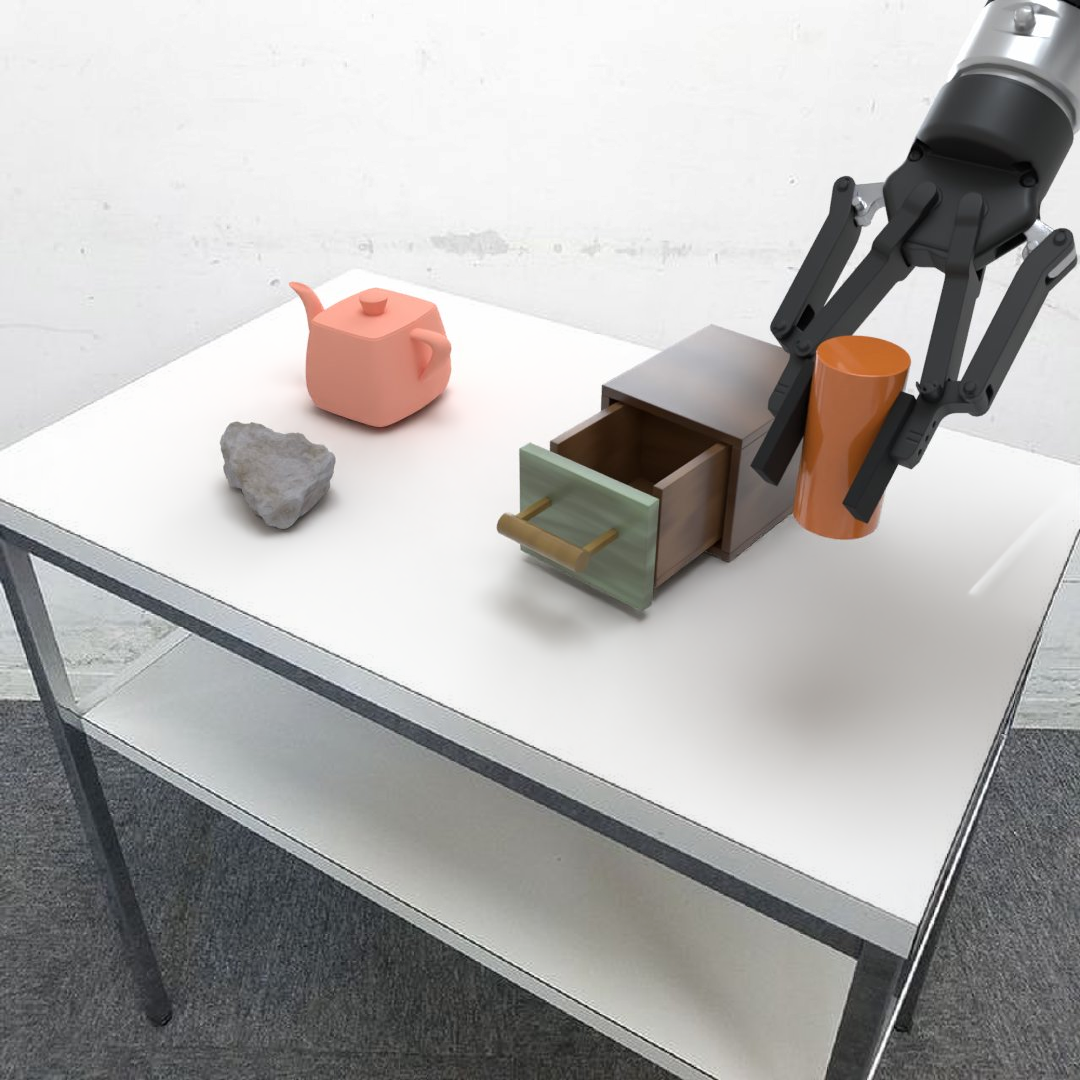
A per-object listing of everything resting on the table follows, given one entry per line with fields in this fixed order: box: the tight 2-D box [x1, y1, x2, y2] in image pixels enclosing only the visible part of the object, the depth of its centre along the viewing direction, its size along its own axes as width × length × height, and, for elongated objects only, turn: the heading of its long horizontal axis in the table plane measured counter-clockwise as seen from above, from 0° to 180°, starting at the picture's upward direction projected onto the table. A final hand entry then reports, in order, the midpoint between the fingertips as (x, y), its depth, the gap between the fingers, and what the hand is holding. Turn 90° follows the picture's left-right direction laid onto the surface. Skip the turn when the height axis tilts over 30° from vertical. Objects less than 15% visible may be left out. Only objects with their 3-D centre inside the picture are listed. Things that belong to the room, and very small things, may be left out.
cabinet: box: [600, 323, 804, 563], centre depth 94 cm, size 15×13×11 cm
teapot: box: [288, 281, 452, 428], centre depth 107 cm, size 12×18×10 cm, turn 57°
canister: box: [792, 334, 912, 541], centre depth 64 cm, size 5×5×10 cm
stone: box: [219, 421, 337, 530], centre depth 94 cm, size 10×8×6 cm
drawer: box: [496, 401, 732, 613], centre depth 86 cm, size 18×11×9 cm, turn 139°
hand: (808, 493), depth 63 cm, fingers closed on canister, 5 cm apart
